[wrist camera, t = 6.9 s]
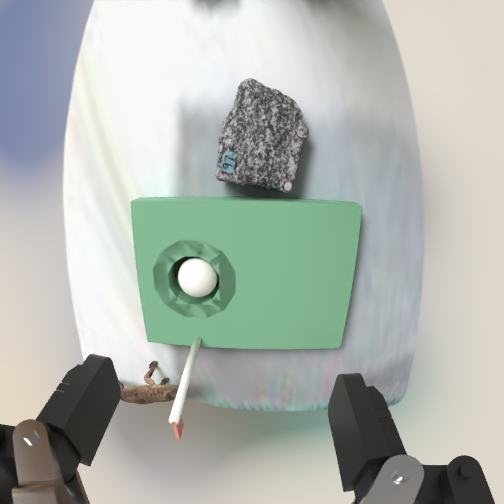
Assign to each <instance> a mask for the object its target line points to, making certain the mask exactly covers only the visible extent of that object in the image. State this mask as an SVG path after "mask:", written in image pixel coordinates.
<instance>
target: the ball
mask: <svg viewBox="0 0 504 504" xmlns="http://www.w3.org/2000/svg"><path fill="white" fill-rule="evenodd" d="M217 280H218V275H217V272H216V270H215V268H214V267H213V265H212V264H211V263H209V262H208V261H206V260H204V259H202V258H201V257H194V258H191V259H188V260H187V261H185V262H184V263H183V264H182V266H181V267H180V269H179V273H178V281H179V285H180V287H181V288H182V290H183V291H184V292H185V293H187V294H188V295H190V296H193V297H203V296H206V295H208V294H209V293H211V292H212V291H213V290H214V288H215V286H216V284H217Z"/></svg>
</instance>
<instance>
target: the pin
mask: <svg viewBox="0 0 504 504" xmlns="http://www.w3.org/2000/svg"><path fill="white" fill-rule="evenodd" d="M200 342H201V338H200V337H199V336H196V337H194V340H193V343H192V346H191V349H190V353H189V356H188V359H187V362H186V365H185V369H184V372H183V375H182V378H181V382H180V385H179V388H178V391H177V395H176V398H175V401H174V405H173V408H172V411H171V415H170V418H169V423H171V424H173V428H174V431H175V435H176V438H177V439H178V440H180V438H181V434H182V430H183V426H184V423H183V420H182V415H181V412H182V408H183V405H184V401H185V397H186V393H187V390H188V386H189V382H190V379H191V375H192V371H193V368H194V364H195V360H196V357H197V353H198V349H199V346H200Z"/></svg>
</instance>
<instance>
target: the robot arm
mask: <svg viewBox="0 0 504 504" xmlns="http://www.w3.org/2000/svg"><path fill="white" fill-rule="evenodd" d="M56 389H57V390H56V391H55V392H54V393H53V394H52V396H51V398H50V399H49V400H48V402H47V403H46V405H45V407H44V408H43V409H42V411H41V413H40V414H39V416H38V417H37V418H36V420H33V419H29V420H25V421H22V422H21V423H19V424H18V425H17V426H16V427H15V426H9V425H2V424H0V504H90V503H89V500H88V497H87V495H86V492H85V490H84V487H83V484H82V481H81V478H80V475H79V472H78V470H77V467H78V464H79V463H82V464H84V465H87V466H91V463H92V461H93V458H94V456H95V454H96V451H97V449H98V447H99V445H100V442H101V440H102V438H103V436H104V433H105V431H106V429H107V427H108V424H109V422H110V420H111V418H112V416H113V413H114V411H115V409H116V407H117V405H118V403H119V400H120V396H121V388H120V384H119V381H118V378H117V375H116V372H115V369H114V365H113V362H112V360H111V358H109V357H104V356H99V355H95V354H90V355H89V356H88V357H87V359H86V360H85V361H84V363H83V365H77V366H76V367H74V368H73V369H71V370H70V371H68V373H67V374H66V376H65V377H64V378H63V380H62V383H60V384H59V386H58V387H57V388H56ZM328 417H329V422H330V427H331V431H332V436H333V441H334V446H335V451H336V455H337V460H338V465H339V470H340V476H341V481H342V486H343V491H344V492H346V491H353V490H354V493H355V499H354V501H353V502H352V504H495V503H494V500H493V497H492V494H491V491H490V489H489V486H488V483H487V481H486V479H485V476H484V473H483V471H482V468H481V466H480V464H479V463H478V461H477V460H475V459H474V458H472V457H470V456H465V455H464V456H458V457H456V458H455V459H453V460H452V461H451V462H450V463H449V464H448V465H422V464H421V463H420V462H419V461H418V460H417V459H416V458H414V457H412V456H409V455H407V453H406V451H405V449H404V446H403V444H402V441H401V438H400V436H399V433H398V431H397V428H396V426H395V424H394V421H393V419H392V418H391V413H390V411H389V409H388V406H387V404H386V402H385V399H384V397H383V395H382V394H381V393H380V392H379V391H378V390H377V389H376V388H375V387H374V386H370V387H366V385H365V382H364V380H363V377H362V375H361V374H360V373H354V374H339V375H338V376H337V379H336V382H335V386H334V389H333V392H332V395H331V398H330V401H329V406H328Z"/></svg>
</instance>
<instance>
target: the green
mask: <svg viewBox="0 0 504 504" xmlns="http://www.w3.org/2000/svg"><path fill="white" fill-rule="evenodd" d="M131 212H132V226H133V239H134V249H135V259H136V268H137V276H138V283H139V291H140V298H141V304H142V311H143V317H144V322H145V328H146V334H147V339H148V342H155V343H164V344H175V345H187V346H192V343H193V340H194V337H196V336H199V337H200V338H201V342H200V346H201V347H217V348H240V349H325V348H340V346H341V342H342V337H343V332H344V327H345V322H346V317H347V312H348V306H349V301H350V295H351V289H352V283H353V277H354V270H355V263H356V256H357V249H358V241H359V232H360V223H361V213H362V206H361V205H359V204H357V203H354V202H343V201H328V200H310V199H288V198H257V197H148V198H138V199H136V200H133V201H131ZM185 256H194V257H201V258H202V259H204V260H206V261H208V262H209V263H211V264H212V265H213V267H214V268H215V270H216V272H217V273H218V275H219V284H218V286H217V288H216V289H214V290H213V291H212V292H211V293H209V294H208V295H206V296H203V297H193V296H190V295H188V294H187V293H185V292H184V291H183V290H182V288H181V287H180V285H179V282H178V281H177V279H176V278H175V269H174V264H175V262H176V261H177V260H179V259H181V258H183V257H185Z"/></svg>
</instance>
